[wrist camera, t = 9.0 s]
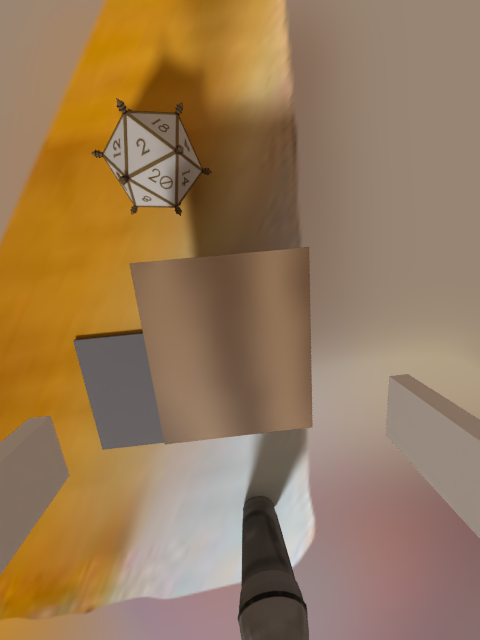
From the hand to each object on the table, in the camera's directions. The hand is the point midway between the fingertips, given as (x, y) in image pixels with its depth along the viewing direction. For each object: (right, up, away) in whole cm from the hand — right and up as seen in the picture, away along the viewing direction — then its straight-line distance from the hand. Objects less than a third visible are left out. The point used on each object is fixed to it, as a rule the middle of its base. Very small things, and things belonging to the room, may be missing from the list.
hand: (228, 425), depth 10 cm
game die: (-7, +19, +16) cm, 26 cm away
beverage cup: (+3, -24, +28) cm, 36 cm away
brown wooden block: (-1, +3, +13) cm, 13 cm away
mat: (-14, -5, +22) cm, 26 cm away
